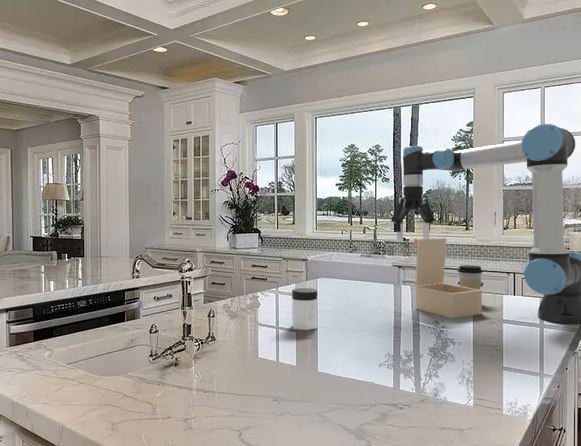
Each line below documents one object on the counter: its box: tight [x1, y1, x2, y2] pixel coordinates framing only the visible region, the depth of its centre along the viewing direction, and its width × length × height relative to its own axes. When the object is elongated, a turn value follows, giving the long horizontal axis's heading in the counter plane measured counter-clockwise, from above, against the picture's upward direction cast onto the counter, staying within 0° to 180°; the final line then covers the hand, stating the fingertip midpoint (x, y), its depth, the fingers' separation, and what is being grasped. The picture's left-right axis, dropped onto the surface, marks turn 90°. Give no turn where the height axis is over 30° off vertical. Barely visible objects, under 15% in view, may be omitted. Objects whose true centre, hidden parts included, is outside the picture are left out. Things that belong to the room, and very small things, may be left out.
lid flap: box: [412, 237, 447, 286], centre depth 189 cm, size 17×14×9 cm
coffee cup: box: [457, 264, 483, 290], centre depth 193 cm, size 9×9×15 cm
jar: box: [291, 287, 319, 331], centre depth 158 cm, size 9×8×12 cm
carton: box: [415, 282, 483, 319], centre depth 178 cm, size 18×14×9 cm
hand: (413, 239), depth 194 cm, fingers open, 13 cm apart
